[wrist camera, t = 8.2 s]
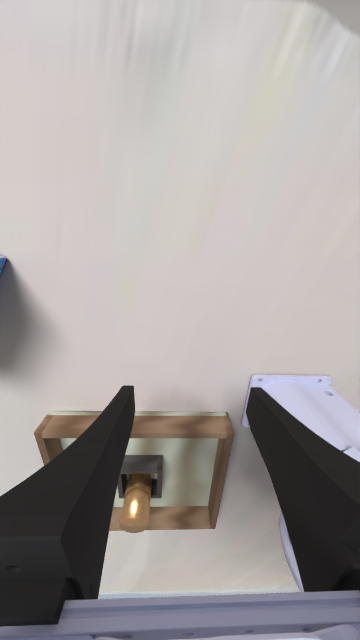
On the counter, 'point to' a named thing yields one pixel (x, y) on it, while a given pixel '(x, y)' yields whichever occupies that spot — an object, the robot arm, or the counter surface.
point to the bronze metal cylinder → (136, 503)
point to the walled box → (160, 461)
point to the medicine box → (2, 262)
